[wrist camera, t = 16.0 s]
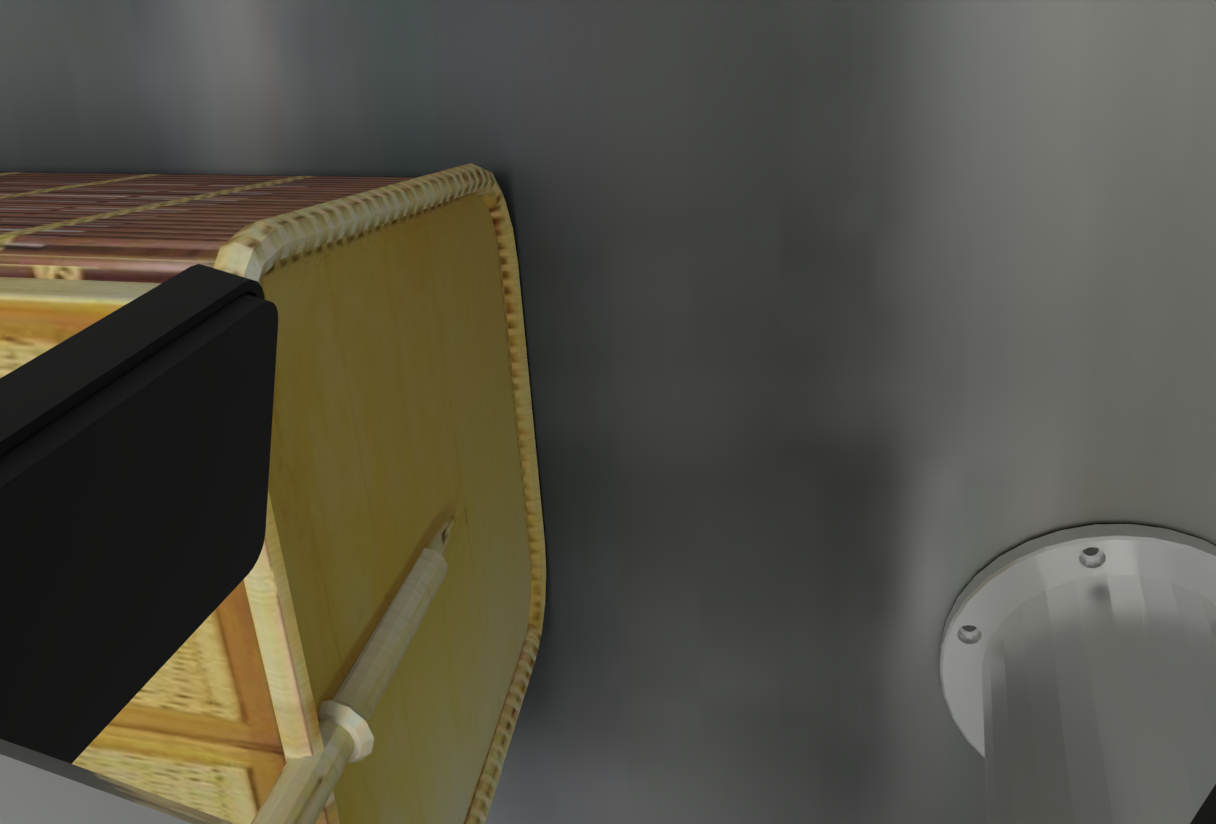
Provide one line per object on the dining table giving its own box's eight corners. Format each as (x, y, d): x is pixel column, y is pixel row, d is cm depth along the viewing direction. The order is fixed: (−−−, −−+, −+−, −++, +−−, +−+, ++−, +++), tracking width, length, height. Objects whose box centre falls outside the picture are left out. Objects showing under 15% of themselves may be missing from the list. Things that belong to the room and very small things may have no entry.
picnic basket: (46, 603, 59) (-671, 1223, 33) (-126, 78, 47) (-1431, 393, 21) (606, 672, 51) (252, 1546, 25) (562, 69, 40) (-163, 536, 14)
